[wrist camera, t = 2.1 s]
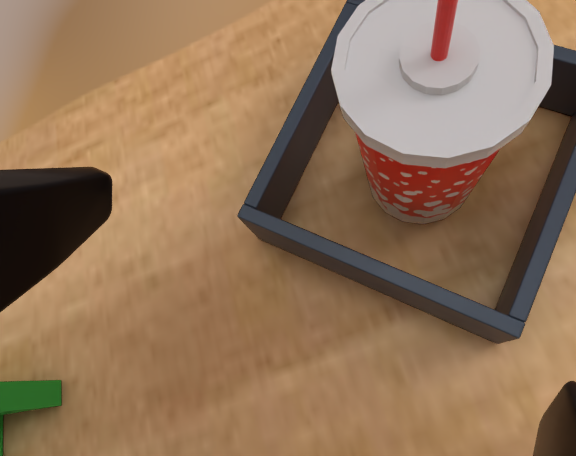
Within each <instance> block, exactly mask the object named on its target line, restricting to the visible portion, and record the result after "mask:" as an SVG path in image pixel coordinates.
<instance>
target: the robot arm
mask: <svg viewBox="0 0 576 456" xmlns="http://www.w3.org/2000/svg"><path fill="white" fill-rule="evenodd" d="M111 211H112V179H111V176H110V175H109V174H108V173H106V172H103V171H101V170H99V169H97V168H94V167H73V168H44V169H16V170H0V312H1V311H3V310H4V309H5V308H6V307H8V306H9V305H10V304H12V303H13V302H14V301H15V300H17V299H18V298H19V297H20V296H22V295H23V294H24V293H26V292H27V291H28V290H29V289H31V288H32V287H33V286H34V285H36V284H37V283H38V282H40V281H41V280H42V279H43V278H45V277H46V276H47V275H48V274H50V273H51V272H52V271H53V270H55V269H56V268H57V267H58V266H59V265H60V264H61V263H63V262H64V261H65V260H66V259H67V258H68V257H69V256H70V255H71V254H72V253H73V252H74V251H75V250H76V249H77V248H78V247H79V246H80V245H82V244H83V243H84V242H85V241H86V240H87V239H88V238H89V237H90V236H91V235H92V234H93V233H94V232H95V231H96V230H97V229H98V228H99V227H100V226H101V225H102V224H103V223H105V222H106V220H107V219H108V218H109V216H110V214H111ZM533 456H576V382H575V381H570V382H567V383H566V384H565V385H564V386H563V387H562V389H561V390H560V392H559V393H558V395H557V396H556V397H555V399H554V400H553V402H552V403H551V405H550V406H549V407H548V409H547V410H546V412H545V413H544V415H543V417H542V419H541V421H540V424H539V428H538V433H537V437H536V442H535V447H534V452H533Z"/></svg>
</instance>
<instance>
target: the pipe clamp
mask: <svg viewBox="0 0 576 456" xmlns="http://www.w3.org/2000/svg"><path fill="white" fill-rule="evenodd" d="M55 406H61V380H49V381H9V382H0V456H3V415H6V414H12V413H18V412H24V411H30V410H36V409H42V408H49V407H55Z"/></svg>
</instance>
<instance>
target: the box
mask: <svg viewBox="0 0 576 456" xmlns="http://www.w3.org/2000/svg"><path fill="white" fill-rule="evenodd" d="M364 1H365V0H347V1H346V3H345V5H344V7H343V9H342V11H341V13H340V15H339V17H338V19H337V21H336V23H335V25H334V27H333V29H332V31H331V33H330V35H329V37H328V39H327V41H326V43H325V45H324V47H323V49H322V50H321V52H320V54H319V56H318V58H317V60H316V62H315V64H314V66H313V68H312V70H311V72H310V74H309V76H308V78H307V80H306V82H305V84H304V86H303V88H302V90H301V92H300V94H299V96H298V98H297V100H296V102H295V103H294V105H293V107H292V109H291V111H290V113H289V115H288V117H287V119H286V121H285V123H284V125H283V127H282V129H281V131H280V133H279V135H278V137H277V139H276V141H275V143H274V145H273V147H272V149H271V151H270V153H269V155H268V156H267V158H266V160H265V162H264V164H263V166H262V168H261V170H260V172H259V174H258V176H257V178H256V180H255V182H254V184H253V186H252V188H251V190H250V192H249V194H248V196H247V198H246V200H245V202H244V204H243V205H242V207H241V209H240V211H239V213H238V215H237V217H238V218H239V219H240V220H241V221H242V222H243V223H244V224H245V225H246V226H247V227H248V228H249V229H250V230H251V231H252V232H253V233H254V234H255V235H256V236H257V237H258V238H259V239H261V240H263V241H265V242H268V243H270V244H272V245H274V246H277V247H279V248H281V249H283V250H286V251H288V252H290V253H293V254H295V255H297V256H299V257H302V258H304V259H306V260H308V261H311V262H313V263H315V264H317V265H320V266H322V267H324V268H326V269H329V270H331V271H333V272H336V273H338V274H340V275H342V276H345V277H347V278H349V279H351V280H354V281H356V282H358V283H360V284H363V285H365V286H367V287H370V288H372V289H374V290H376V291H379V292H381V293H383V294H385V295H388V296H390V297H392V298H394V299H397V300H399V301H401V302H404V303H406V304H408V305H410V306H413V307H415V308H417V309H419V310H422V311H424V312H426V313H428V314H431V315H433V316H435V317H437V318H440V319H442V320H444V321H447V322H449V323H451V324H453V325H456V326H458V327H460V328H462V329H465V330H467V331H469V332H471V333H474V334H476V335H478V336H481V337H483V338H485V339H487V340H490V341H492V342H494V343H496V344H500V343H503V342H507V341H511V340H515V339H518V338H520V336H521V333H522V331H523V328H524V326H525V323H524V322H526V320H527V318H528V315H529V313H530V310H531V307H532V305H533V302H534V300H535V297H536V294H537V292H538V289H539V287H540V284H541V281H542V279H543V276H544V274H545V271H546V268H547V266H548V263H549V260H550V258H551V255H552V253H553V250H554V247H555V245H556V242H557V240H558V237H559V234H560V232H561V229H562V227H563V224H564V221H565V219H566V216H567V214H568V211H569V208H570V206H571V203H572V201H573V198H574V195H575V193H576V51H575V50H571V49H567V48H564V47H560V46H556V45H554V54H553V67H552V81H551V86H550V88H549V90H548V91H547V93H546V95H545V96H544V98H543V100H542V101H541V103H540V105H539V106H540V107H544V108H547V109H550V110H554V111H557V112H560V113H564V114H567V115H570V116H572V117H571V120H570V122H569V125H568V127H567V130H566V132H565V135H564V137H563V140H562V142H561V145H560V147H559V150H558V152H557V155H556V157H555V160H554V162H553V165H552V168H551V170H550V173H549V175H548V178H547V180H546V183H545V185H544V188H543V190H542V193H541V195H540V198H539V200H538V203H537V205H536V208H535V210H534V213H533V215H532V218H531V220H530V223H529V225H528V228H527V230H526V233H525V236H524V238H523V241H522V243H521V246H520V248H519V251H518V253H517V256H516V258H515V261H514V263H513V266H512V268H511V271H510V273H509V276H508V278H507V281H506V283H505V286H504V288H503V291H502V293H501V296H500V298H499V301H498V304H497V306H496V309H495V310H494V309H491V308H489V307H487V306H484V305H482V304H480V303H477V302H475V301H473V300H470V299H468V298H465V297H463V296H461V295H458V294H456V293H454V292H451V291H449V290H447V289H444V288H442V287H439V286H437V285H435V284H432V283H430V282H428V281H425V280H423V279H421V278H418V277H416V276H413V275H411V274H409V273H406V272H404V271H402V270H399V269H397V268H395V267H392V266H390V265H387V264H385V263H383V262H380V261H378V260H376V259H373V258H371V257H369V256H366V255H364V254H361V253H359V252H357V251H354V250H352V249H350V248H347V247H345V246H343V245H340V244H338V243H335V242H333V241H331V240H328V239H326V238H324V237H321V236H319V235H317V234H314V233H312V232H309V231H307V230H305V229H302V228H300V227H298V226H295V225H293V224H291V223H288V222H286V221H283V220H281V219H280V218H281V216H282V214H283V212H284V210H285V208H286V206H287V204H288V202H289V200H290V198H291V196H292V194H293V192H294V190H295V188H296V186H297V184H298V182H299V180H300V178H301V176H302V174H303V172H304V170H305V168H306V166H307V164H308V162H309V160H310V158H311V155H312V153H313V151H314V149H315V147H316V145H317V143H318V141H319V139H320V137H321V135H322V133H323V131H324V129H325V127H326V125H327V123H328V121H329V119H330V117H331V115H332V113H333V111H334V109H335V107H336V105H337V103H338V97H337V93H336V89H335V85H334V82H333V78H332V73H331V68H332V63H333V58H334V53H335V47H336V42H337V37H338V35H339V33H340V32H341V30H342V29H343V27H344V26H345V24H346V23H347V21H348V20H349V19H350V17H351V16H352V14H353V13H354V11H355V10H356V8H357V7H358V5H360V4H361V3H362V2H364Z"/></svg>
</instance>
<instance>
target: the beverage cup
mask: <svg viewBox="0 0 576 456" xmlns="http://www.w3.org/2000/svg"><path fill="white" fill-rule="evenodd" d="M553 54H554V45H553V43H552V40H551V38H550V36H549V33H548V31H547V29H546V26H545V24H544V22H543V20H542V17H541V15H540V13H539V11H538V10H537V9H536V8H535V7H533V6H532V5H531V4H530V3H529V2H528V1H527V0H365V1H364V2H362V3H361V4H360V5H358V7H357V8H356V10H355V11H354V13H353V14H352V16H351V17H350V19H349V20H348V21H347V23H346V24H345V26H344V27H343V29H342V30H341V32H340V33H339V35H338V37H337V42H336V47H335V53H334V58H333V63H332V68H331V73H332V78H333V82H334V85H335V89H336V93H337V97H338V101H339V104H340V108H341V111H342V115H343V118H344V119H345V121H346V122H347V123H348V124H349V125H350V127H351V128H352V129H353V130H354V131H355V133H356V136H357V140H358V144H359V148H360V151H361V155H362V159H363V163H364V166H365V170H366V174H367V177H368V181H369V185H370V189H371V192H372V196H373V198H374V199H375V200H376V202H377V203H378V204H379V205H380V206H381V208H382V209H383V210H384V211H385V212H386V213H388V214H390V215H392V216H393V217H395V218H397V219H399V220H401V221H403V222H410V223H418V224H426V223H430V222H434V221H438V220H443V219H445V218H446V217H448V216H449V215H450V214H452V213H453V212H455V211H456V210H457V209H459V208H460V207H461V206H462V204H463V203H464V201H465V200H466V198H467V197H468V195H469V194H470V192H471V191H472V189H473V188H474V187H475V185H476V184H477V182H478V181H479V179H480V178H481V176H482V175H483V173H484V172H485V170H486V169H487V167H488V166H489V164H490V163H491V162H492V160H493V159H494V157H495V156H496V154H497V153H498V151H499V150H500V148H501V147H503V146H504V145H506V144H507V143H508V142H510V141H511V140H513V139H514V138H515V137H517V136H518V135H520V134H521V133H522V131H523V130H524V128H525V126H527V125H528V123H529V121H530V120H531V118H532V116H533V115H534V113H535V111H536V110H537V108H538V106H539V105H540V103H541V101H542V100H543V98H544V96H545V95H546V93H547V91H548V90H549V88H550V86H551V81H552V67H553Z"/></svg>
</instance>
